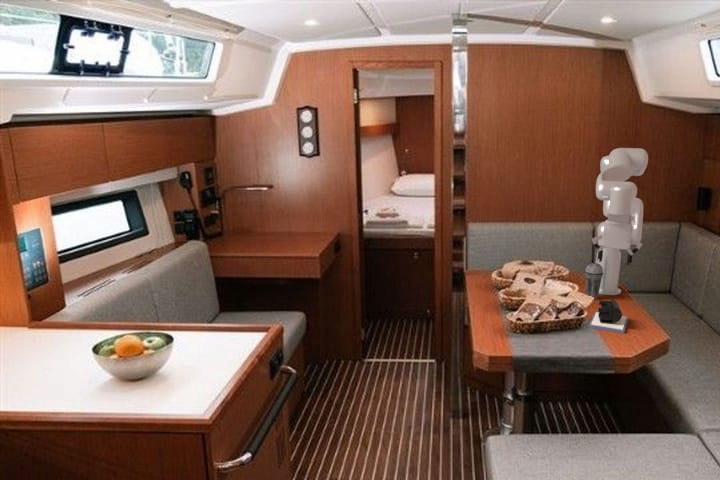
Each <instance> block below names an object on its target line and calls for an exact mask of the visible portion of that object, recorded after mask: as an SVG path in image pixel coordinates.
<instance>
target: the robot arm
mask: <svg viewBox="0 0 720 480" xmlns="http://www.w3.org/2000/svg"><path fill="white" fill-rule="evenodd" d="M648 162H649V156H648V152H647V151H646V150H645V149H644V148H641V147H639V148H636V147H634V148H633V147H619V148H618V147H617V148H615V149H612V151H610V153H609V155H605V156H603V157H602V158H601V159H600V162H599V163H600V164H599V165H600V166H599V168H600V170H599V171H600V173H599V174H598V176H597V178H596V182H595V194H596V195H595V196H596V198H597V199H598V200H600V201H603V202H602V203H603V204H602V212H603V213H602V214H603V216H605V217H606V218H607V219H606V220H605V221H602V222H601V223H599V225H598V226H597V236H595V237H592V238H591V242H592V244H593V246H594V247H593V248H595V249H596V250H597V253H598V260H597V263H598V264H600V265H601V266H602V268H603V276H602V279H601V284H600V289H599V294H598V295H603V296H617V295H620V294H621V293H622V289H621V288H619V276H620V269H621V260H622V259H621V258H622V253H621V250H625V251H626V252H627V253H628V254H627V260H626V265H627V266H630V264H632V261H633V255H634V254H636V253H637V252H638V251H639V250H640V248H642V246H643V243H642V242H641V240H642V233H643V220H644V203H643V200H642V199H641V198H638V197H637V195H638V187H637V185H636V184H635V183H634V182H632V181H627V180H628V179H630V178H631V177H632V176H633V177H639V176H642V175H643V174H644V172H645V171H646V169H647V167H648ZM633 245H634V246H635V245H636V247H635V248H632V246H633Z"/></svg>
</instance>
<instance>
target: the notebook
mask: <svg viewBox="0 0 720 480" xmlns="http://www.w3.org/2000/svg"><path fill="white" fill-rule="evenodd" d="M598 314H599V313H598V311H595V312H594V314H593V316H592V318H591V320H590V322H589V324H588V328H591V329H597V330H603V331H607V332H612V333H613V332H614V333H620V334H625V331H626V328H627V325H628V322H629V317H628V316H624V315H622V318H621V319H620V321H618V322H616V323H614V324H605V323H600V320H599V316H598Z"/></svg>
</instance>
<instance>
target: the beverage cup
mask: <svg viewBox="0 0 720 480" xmlns="http://www.w3.org/2000/svg"><path fill="white" fill-rule="evenodd" d="M597 260H598V252H597V253H596V259H595V262H591V263H589V264H588V265H587V266H586V268H585V271H584V272H585V296H586V295H588V296H592V297H594V300H593V301H596V300H598V297H599V295H600V294H599V289H600V284H601V279H602V276H603V268H602V266H601V265H600V264H598V263H597Z"/></svg>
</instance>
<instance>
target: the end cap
mask: <svg viewBox="0 0 720 480" xmlns="http://www.w3.org/2000/svg"><path fill="white" fill-rule="evenodd" d="M598 305H600V307H598V311H597V312H598V313H599V314H598V316H599V320H600V323H605V324H614V323H616V322H618V321H620V319H621V318H622V316H623V313H622V311H621V308H620V305H619V303H618V302H617V301H616V300H614V299H610V300H599V301H598Z"/></svg>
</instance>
